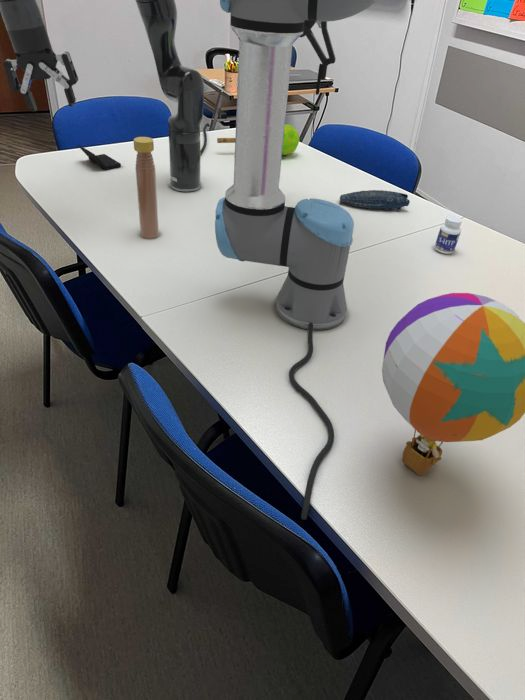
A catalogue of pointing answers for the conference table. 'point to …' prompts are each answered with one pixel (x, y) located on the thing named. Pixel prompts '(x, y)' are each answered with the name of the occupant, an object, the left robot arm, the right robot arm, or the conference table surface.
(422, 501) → the conference table surface
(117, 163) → the black angled piece
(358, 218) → the conference table surface
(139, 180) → the bottle
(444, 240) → the pill bottle
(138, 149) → the cap
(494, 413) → the toy
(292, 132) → the decorative tree
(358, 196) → the fish model
